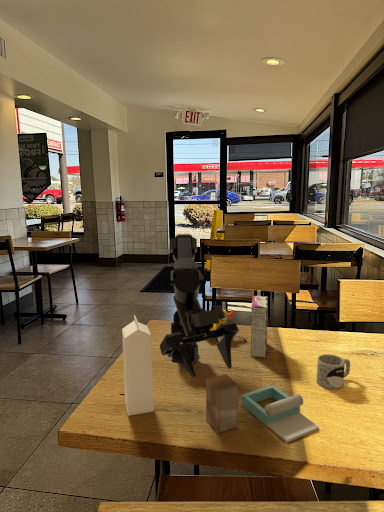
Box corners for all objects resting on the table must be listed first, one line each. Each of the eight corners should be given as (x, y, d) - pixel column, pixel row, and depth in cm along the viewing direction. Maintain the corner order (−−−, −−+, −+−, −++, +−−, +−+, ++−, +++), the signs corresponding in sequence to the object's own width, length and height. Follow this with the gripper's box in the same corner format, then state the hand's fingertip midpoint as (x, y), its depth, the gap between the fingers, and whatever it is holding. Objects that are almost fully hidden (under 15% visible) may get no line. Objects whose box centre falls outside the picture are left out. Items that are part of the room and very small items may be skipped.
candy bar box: (251, 342, 124) (252, 295, 121) (266, 343, 123) (268, 296, 120) (249, 357, 113) (251, 305, 110) (266, 358, 112) (268, 306, 109)
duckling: (230, 332, 133) (230, 305, 131) (236, 337, 128) (236, 310, 126) (200, 335, 130) (200, 308, 128) (205, 341, 125) (205, 313, 123)
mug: (329, 392, 93) (330, 367, 92) (311, 380, 99) (312, 357, 98) (358, 383, 97) (360, 360, 96) (339, 372, 103) (340, 350, 102)
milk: (128, 416, 84) (123, 324, 80) (125, 401, 90) (120, 315, 86) (154, 411, 86) (151, 321, 82) (149, 397, 91) (146, 312, 87)
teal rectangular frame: (241, 404, 88) (241, 385, 87) (272, 394, 93) (273, 376, 92) (285, 443, 75) (286, 421, 74) (319, 428, 79) (321, 408, 78)
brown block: (206, 420, 82) (206, 379, 80) (225, 414, 84) (225, 373, 83) (218, 433, 78) (218, 390, 76) (237, 426, 80) (238, 384, 78)
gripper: (163, 300, 80) (186, 368, 72) (235, 289, 88) (263, 349, 81) (151, 323, 88) (171, 387, 80) (218, 311, 97) (241, 368, 89)
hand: (212, 372), depth 82 cm, fingers open, 9 cm apart
